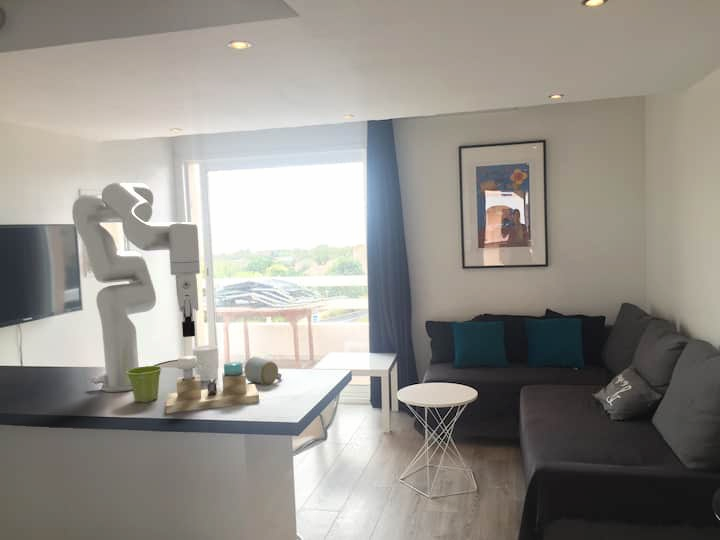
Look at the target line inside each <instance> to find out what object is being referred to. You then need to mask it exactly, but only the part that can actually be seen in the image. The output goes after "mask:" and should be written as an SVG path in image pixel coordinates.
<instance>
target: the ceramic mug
mask: <svg viewBox="0 0 720 540" xmlns="http://www.w3.org/2000/svg"><path fill="white" fill-rule="evenodd" d="M243 370H244V372H245V375H246V381H248V382H250V383H254V382H255V383H254V384H260V385H271V384H272V383H274V382H276V380H277V379H278V380H281V378H282V373H279V368H278V365H277V364H276V362H274V361H272V360H269V359H265V358H262V357H258V356H252V357H251V358H248V360H247V361H246V363H245V365H244V369H243Z"/></svg>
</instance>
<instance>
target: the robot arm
mask: <svg viewBox="0 0 720 540" xmlns="http://www.w3.org/2000/svg"><path fill="white" fill-rule="evenodd" d="M153 203H154V194H153V191H152V190H151V189H150V188H149V187H148V186H147V185H146V184H144V183H139V182H138V183H134V182H114V183H109V184H108V185H106V186H105V187H104V188H103V189H102V191H101V194H90V195H84V196H80V197H78V198H77V199H76V200H75V201H74V203H73V205H72V210H71V211H72V214H71V215H72V221H73V225H74V227H75V229H76V231H77V234H79V237H80V238H81V241H82V242H83V244H84V247H85V250H86V254H87V256H88V260H89V263H90V267H91V270H92V273H93V276H94V278H95V280H96V281H97V282H99V283H101V284H112V283H113V284H112V285H109V286H104V287H103V288H102V289H100V290H99V291H98V292H97V295H96V299H95V300H96V301H95V302H96V307H97V311H98V314H99V318H100V323H101V331H102V342H103V352H104V357H103V358H104V366H105V368H104V369H105V373H104V374H102V375H101V376H91V377H90V383H91V384H94V385H95V384H96V385H97V384H101V385H100V386H101V387H100V389H101V391H103V392H107V393H120V392H128V391H133V390H132V385H131V381H130V379H129V376H128V374H127V373H126V372H127V371H128V370H130V369H133V368H138V367H140V365H139V354H138V340H137V339H138V338H137V329H136V326H135V324H134V322H133V321H132V320H131V319H130V318H129V315H134V314H140V313H146V312H149V311H151V310H153V308H155V305H156V303H157V297H156V291H155V286H154V284H153V281H152V278H151V274H150V271H149V268H148V265H147V262H146V259H145V258H144V257H143V255H141V253H139V252H137V251H134V250H133V251H132V250H129V251H128V250H127V251H126V250H124V251H120V250H119V249H118V248H117V245H116V242H115V239H114V237H113V234H111V233H110V232H109V231H108V230H107V228H105V227H103V225H101V223H102V224H103V223H107V224H108V223H122V230H123V231H122V232H123V234H124V236H125V238H126V239H127V241H129V242H130V243H131V244H132V245H133V246H135V247H136V248H138V249H139V250H142V251H145V252H149V251H150V252H151V251H168V250H169V251H168V252H169V263H170V264H169V267H170V275H171V276H175V285H176V286H175V287H176V295H177V304H178V309H179V312H181V313H182V321H181V324H182V326H181V328H182V337H183V338H188V337H189V338H190V337H195V336H196V328H195V327H196V326H195V325H196V324H195V322H196V321H195V320H194V310H195V311H196V312H198V311H199V294H198V278H197V275H198V274H201V266H200V250H199V249H200V248H199V247H200V246H199V235H198V234H199V232H198V230H199V229H198V225H197V224H196V223H194V222H190V221H189V222H183V221H182V222H176V221H173V222H172V221H171V222H168V221H167V222H163V221H162V222H161V221H160V222H159V221H158V222H157V221H156V222H149V221H150V220H151V218H152V216H153V215H152V214H153V207H152V206H153ZM122 282H128V283H122ZM114 283H121V284H114Z"/></svg>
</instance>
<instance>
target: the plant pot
mask: <svg viewBox="0 0 720 540" xmlns="http://www.w3.org/2000/svg"><path fill="white" fill-rule="evenodd" d="M162 369H163V368H162V366H159V365H147V366H139V367H138V368H133V369H130V370H128V371H127V372H126V373H127V374H128V376H129V379H130V381H131V385H132V390H131V391H132V393H133V399H134V401H135V402H136V403H138V402H140V403H149V402H153V401H154V400H158V398H159V386H160V385H159V384H160V375H161V371H162Z"/></svg>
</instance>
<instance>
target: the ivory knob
mask: <svg viewBox="0 0 720 540" xmlns="http://www.w3.org/2000/svg"><path fill="white" fill-rule="evenodd" d="M195 367H197V357H196V356H193V355H185V356H179V357H178V358H177V369H178V370H183V371H182V372H183V377H184V381H187V380H193V376H194V372H193V371H194V369H195Z"/></svg>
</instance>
